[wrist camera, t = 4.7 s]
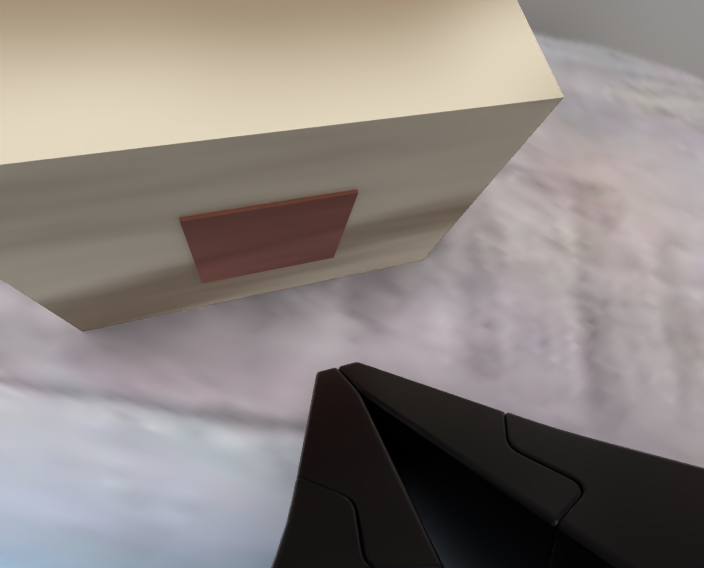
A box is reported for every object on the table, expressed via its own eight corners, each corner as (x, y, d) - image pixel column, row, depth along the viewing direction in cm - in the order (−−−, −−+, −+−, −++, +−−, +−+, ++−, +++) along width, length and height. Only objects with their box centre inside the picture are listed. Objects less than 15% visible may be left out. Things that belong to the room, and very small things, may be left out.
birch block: (423, 263, 18) (565, 101, 9) (82, 334, 15) (-151, 188, 6) (385, 151, 19) (479, -76, 11) (66, 195, 16) (-144, -74, 8)
